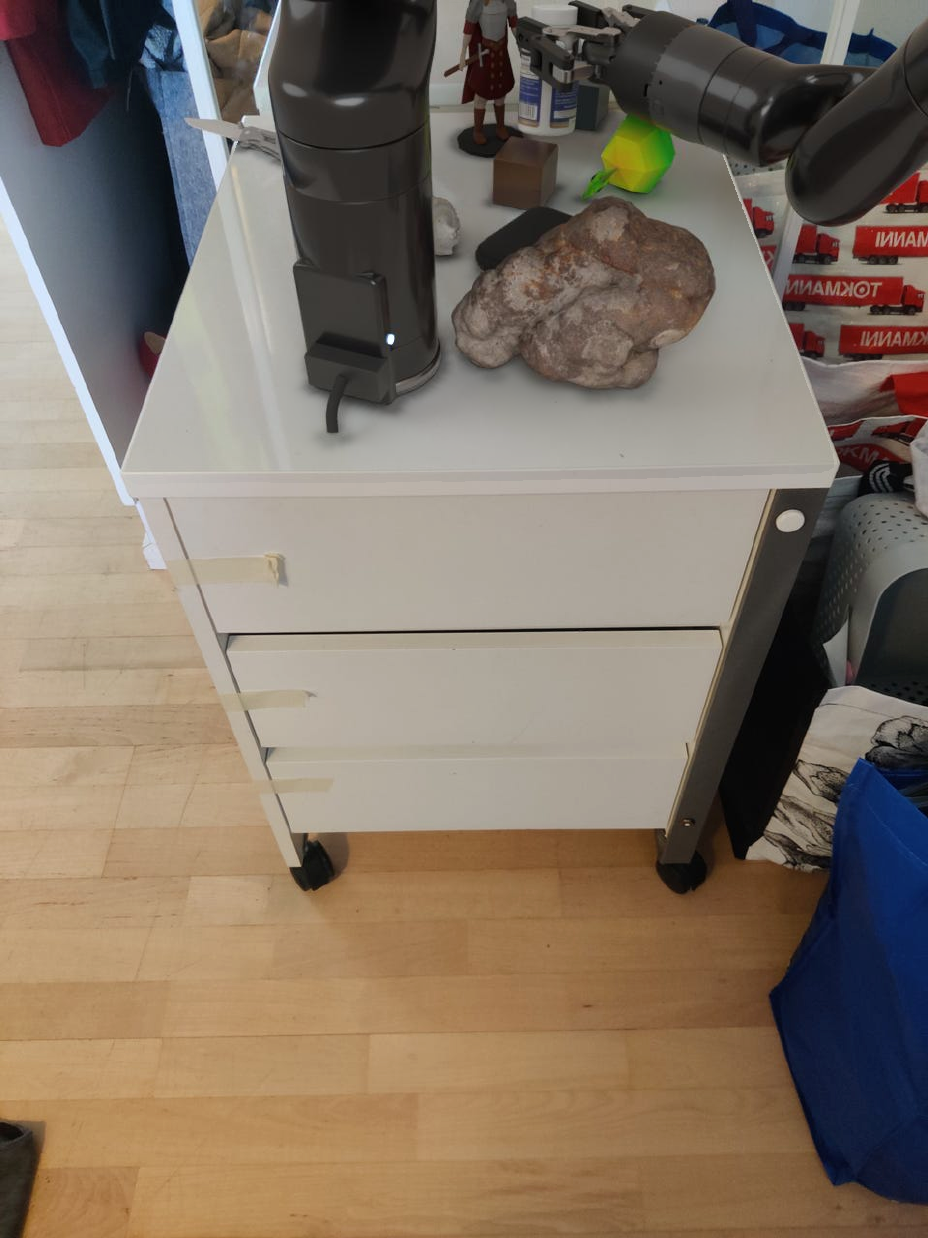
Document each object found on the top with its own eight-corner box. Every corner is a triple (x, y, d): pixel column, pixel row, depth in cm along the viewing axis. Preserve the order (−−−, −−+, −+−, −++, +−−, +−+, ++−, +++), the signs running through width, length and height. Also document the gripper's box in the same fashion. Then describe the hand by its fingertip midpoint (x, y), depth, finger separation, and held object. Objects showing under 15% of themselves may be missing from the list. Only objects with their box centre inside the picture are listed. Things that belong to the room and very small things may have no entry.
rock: (518, 353, 74) (498, 450, 69) (440, 241, 65) (411, 343, 61) (740, 287, 64) (733, 395, 59) (682, 145, 55) (669, 259, 51)
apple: (664, 86, 78) (607, 121, 74) (703, 151, 79) (649, 189, 75) (611, 135, 84) (556, 170, 80) (648, 195, 86) (595, 233, 81)
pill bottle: (574, 126, 86) (586, 4, 80) (574, 138, 82) (585, 10, 76) (518, 123, 87) (525, 1, 80) (515, 135, 82) (522, 8, 76)
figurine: (471, 162, 85) (470, -24, 74) (444, 130, 90) (440, -50, 78) (535, 149, 87) (545, -35, 75) (506, 119, 91) (511, -60, 79)
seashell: (443, 271, 74) (430, 223, 71) (342, 207, 83) (327, 161, 79) (482, 245, 75) (472, 196, 71) (379, 184, 84) (365, 138, 80)
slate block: (595, 130, 89) (599, 87, 86) (552, 123, 90) (554, 80, 87) (607, 112, 92) (612, 69, 89) (565, 105, 93) (568, 62, 90)
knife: (176, 133, 90) (196, 119, 92) (314, 176, 84) (333, 161, 86) (171, 117, 89) (191, 103, 90) (311, 160, 83) (330, 144, 84)
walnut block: (539, 212, 80) (542, 166, 76) (492, 203, 81) (492, 157, 78) (555, 188, 82) (558, 143, 79) (509, 180, 83) (510, 135, 80)
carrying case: (455, 281, 73) (608, 348, 67) (455, 246, 71) (613, 312, 65) (533, 227, 78) (681, 285, 72) (534, 192, 76) (688, 250, 70)
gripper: (758, 3, 70) (608, -48, 79) (626, 50, 65) (480, -10, 74) (737, 105, 76) (599, 48, 85) (615, 156, 71) (481, 89, 80)
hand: (545, 21), depth 79 cm, fingers closed on pill bottle, 5 cm apart
